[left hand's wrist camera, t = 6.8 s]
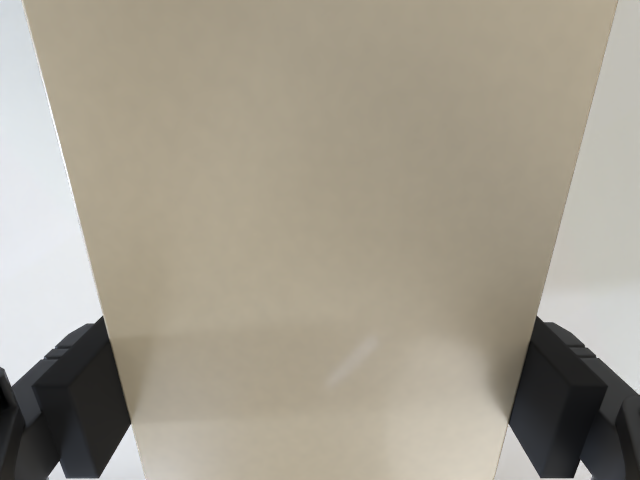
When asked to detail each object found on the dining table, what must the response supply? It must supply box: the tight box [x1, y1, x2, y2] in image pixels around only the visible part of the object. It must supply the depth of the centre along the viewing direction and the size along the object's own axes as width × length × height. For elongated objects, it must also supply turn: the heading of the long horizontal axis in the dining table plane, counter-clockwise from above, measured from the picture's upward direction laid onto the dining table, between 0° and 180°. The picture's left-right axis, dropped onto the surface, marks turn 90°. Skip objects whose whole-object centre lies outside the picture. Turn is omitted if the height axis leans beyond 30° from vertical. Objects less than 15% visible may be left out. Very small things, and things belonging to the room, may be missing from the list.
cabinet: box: [21, 0, 618, 480], centre depth 12 cm, size 20×10×11 cm, turn 0°
